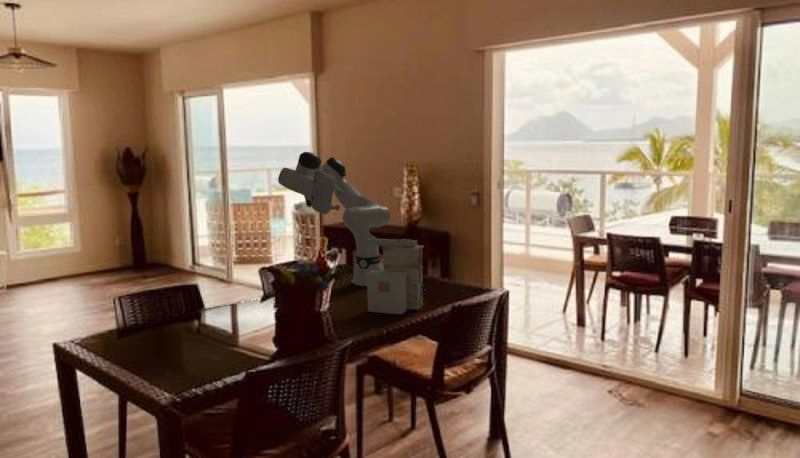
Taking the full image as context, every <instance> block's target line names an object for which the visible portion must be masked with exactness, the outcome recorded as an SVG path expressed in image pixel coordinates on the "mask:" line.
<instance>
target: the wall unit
mask: <svg viewBox="0 0 800 458" xmlns="http://www.w3.org/2000/svg"><path fill="white" fill-rule="evenodd" d="M424 247H425V246H424V245H421V244H420V245H419V244H417V247H395V246H381V250H382V251H383V253H382V257H383V260H382V261H383V262H382V265H383V266H384V271H388V272H405V273H408V275H407V276H406V297H407V310H414V309H415V311H417V310H420V309H421V308H422V307H423V306H424V296H423V285H424V281H423V279H424V278H423V276H424V275H423V273H424V272H423V249H424Z"/></svg>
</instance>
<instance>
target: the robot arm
mask: <svg viewBox="0 0 800 458" xmlns="http://www.w3.org/2000/svg"><path fill="white" fill-rule="evenodd" d="M346 176H347V173H346V166H345V165H344V163H343V161H341V160H340V159H339V158H335V157H329V158H328V159H327V160H326V162H325V163H324V164H322V160H321V158H320V156H319V155H318V154H316V153H314V152H311V151H304V152H302V153H300V154H299V156H298V161H297V165H296V167H295V169H293V168H288V167H283V168H281V170H280V173H279V174H278V178H277V179H278V181H277V182H278V184H279V185H281V186H282V187H284V188H286V189H288V190H290V191H293V192H294V193H297V194H300V195H302V196H303V197H304V201H305V203H306V204H305V205H306V207H307V208H309V209H310V208H312V209H313V210H314V211H315V212H318V213H320V214H322V215H328V213H330V211H331V210H336V211H340V209H341V206H340V205H339V204H336V205H334V204H332V201H333V195H335V197H336V199H337V201H338V202H339V203H340V204H341V205H342V206H343V208H344V209H345V210H344V212H343V214H342V223H343V224H344V226H345V227H346V228H347V229H348V230H349V231H350V232H351V234H353V237H354V241H355V246H356V256H355V265H354V266H353V274H352V275H353V276H352V278H353V279H351V281H350V283H352V284H354V285H356V286H360V287H361V286H362V287H367V276H365V274H366V273H368V272H370V271H384V265H383V263H382V262H381V259H382V257H383V254H380V253H379V252H380V251H379V250H380V249H379V248H380V246H372V245H366V239H378V238H377V237H376V236H374V235H372V234H371V232H370V229H371V228H372V229H373V228H379V227H383V226H385V225H387V224H389V222H390V220H391V211H390V209H389V208H388V207H387V206H385V205H382V204H378V203H376V202H375V201H373V200H371V199H369V198H367V197H366V196H364V195H363V194H362V193H361V192H360V190H359V189H358V188H357V187H356V186H355V185H354V184H352V183H351V182H350V181H348V180H346V179H345V178H344V177H346Z"/></svg>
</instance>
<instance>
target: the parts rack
mask: <svg viewBox="0 0 800 458" xmlns="http://www.w3.org/2000/svg"><path fill="white" fill-rule="evenodd" d="M407 275H408V273H405V272H388V271H370V272H368V273H366V274H365V276H367V286H366V289H367V290H366V291H367V293H366V294H367V312H371V313H382V314H393V315H394V314H395V315H403V314H404V313H406V312H407V310H408V309H407V297H406V276H407Z"/></svg>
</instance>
